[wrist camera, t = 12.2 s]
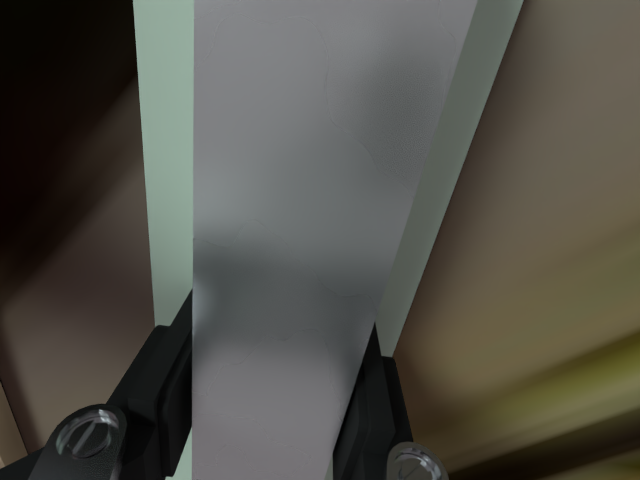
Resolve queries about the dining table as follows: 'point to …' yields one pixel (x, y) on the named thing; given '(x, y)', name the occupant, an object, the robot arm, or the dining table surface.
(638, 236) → the dining table surface
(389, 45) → the rail
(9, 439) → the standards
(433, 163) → the mat
